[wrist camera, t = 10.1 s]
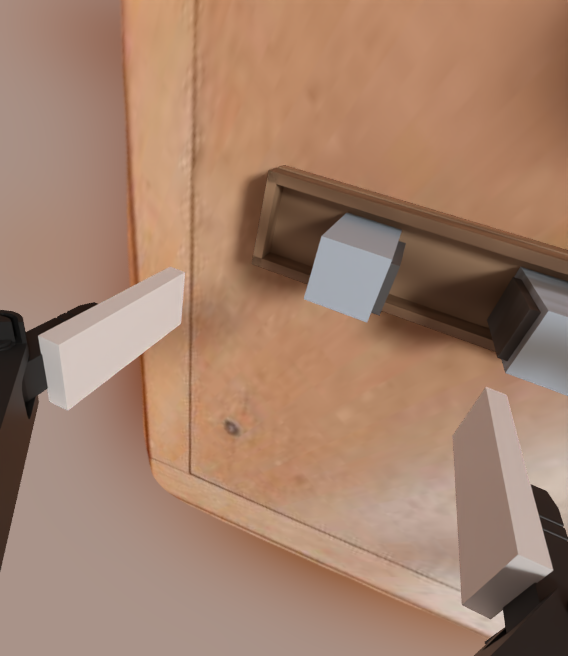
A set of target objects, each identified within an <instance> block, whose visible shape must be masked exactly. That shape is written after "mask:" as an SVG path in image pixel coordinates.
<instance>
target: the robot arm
mask: <svg viewBox="0 0 568 656" xmlns="http://www.w3.org/2000/svg"><path fill="white" fill-rule="evenodd" d="M184 280H185V272H183V271H180V270H178V269H175V268H173V267H169V268H167V269H165V270H163V271H161V272H159V273H157V274H155V275H153V276H151V277H149V278H147V279H146V280H144V281H142V282H140V283H138V284H136V285H134V286H132V287H130V288H128V289H126V290H124V291H123V292H121V293H119V294H117V295H115V296H113V297H111V298H109V299H107V300H105V301H103V302H102V303H100V304H97V303H95V302H94V303H89V304H84V305H80V306H78V307H76V308H74V309H72V310H70V311H68V312H67V313H64V314H62V315H60V316H58V317H57V318H54V319H52V320H50V321H48V322H46V323H44V324H41V325H40V326H37V327H36V328H33V329H31V330H29V331H27V332H25V327H24V322H23V318H22V316H21V315H20V314H18V313H15V312H13V311H5V310H0V570H1V566H2V561H3V557H4V553H5V548H6V544H7V539H8V535H9V531H10V526H11V522H12V517H13V513H14V509H15V504H16V500H17V495H18V491H19V487H20V482H21V478H22V474H23V469H24V464H25V460H26V456H27V452H28V447H29V443H30V438H31V434H32V430H33V424H34V421H35V416H36V412H37V408H38V403H39V401H38V394H40V393H41V392H43V391H44V390H46V389H47V391H48V397H49V402H51V403H53V404H55V405H57V406H59V407H61V408H63V409H65V410H69V409H70V408H72V407H73V406H74V405H75V404H77V403H78V402H79V401H81V400H82V399H83V398H85V397H86V396H87V395H89V394H90V393H91V392H93V391H94V390H95V389H96V388H98V387H99V386H100V385H102V384H103V383H104V382H106V381H107V380H108V379H110V378H111V377H112V376H113V375H115V374H116V373H117V372H118V371H120V370H121V369H123V367H125V366H126V365H128V364H129V363H130V362H132V361H133V360H134V359H136V358H137V357H138V356H139V355H141V354H142V353H143V352H145V351H146V350H147V349H149V348H150V347H151V346H153V345H154V344H155V343H156V342H158V341H159V340H160V339H162V338H163V337H164V336H166V335H167V334H168V333H169V332H171V331H172V330H173V329H175V328H176V327H177V326H179V325H180V324H181V317H182V305H183V292H184ZM453 451H454V469H455V488H456V506H457V524H458V543H459V561H460V579H461V598H462V605H463V606H465V607H467V608H469V609H471V610H473V611H475V612H477V613H479V614H481V615H483V616H485V617H487V618H489V619H492V618H493V617H494V616H496V615H497V614H498V613H499V612H501V611H502V610H503V613H504V620H505V628H503V629H502V630H500V631H499V632H498V633H496V634H495V635H494V636H492V637H491V638H490V639H488V640H487V641H485V644H486V645H485V646H484V647H483V648H482V649H481V650H480V651H478V652H477V653H476V654H475V655H474V656H568V537H567V534H566V530H565V528H563V526H564V524H563V521H562V518H561V515H560V512H559V509H558V507H557V506H556V504H555V503H554V501H553V500H552V498H551V497H550V495H549V494H548V492H547V491H545V490H543V489H541V488H538V487H536V486H533V485H531V484H530V481H529V477H528V473H527V469H526V466H525V462H524V458H523V454H522V450H521V447H520V443H519V439H518V435H517V432H516V428H515V424H514V420H513V417H512V413H511V409H510V405H509V401H508V398H507V395H506V394H503V393H501V392H498V391H495V390H493V389H490V388H488V387H486V388H485V389H484V390H483V392H482V393H481V395H480V396H479V398H478V399H477V401H476V402H475V404H474V405H473V406H472V408H471V409H470V411H469V412H468V414H467V415H466V417H465V418H464V420H463V421H462V422H461V424H460V425H459V427H458V428H457V430H456V431H455V433H454V434H453Z"/></svg>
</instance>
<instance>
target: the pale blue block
mask: <svg viewBox="0 0 568 656" xmlns="http://www.w3.org/2000/svg"><path fill="white" fill-rule="evenodd" d="M401 232H402V230H401V229H398V228H395V227H392V226H389V225H385V224H382V223H379V222H376V221H373V220H370V219H366V218H363V217H360V216H357V215H354V214H351V213H348V212H347V213H346V214H345V215H344V216H343V217H342V218H340V219H339V220H338V221H337V222H336V223H335V224H334V225H333V226H332V227H331V228H330V229H329V230H328V231H327V232H325V233H324V234H323V235H322V236H321V240H320V243H319V247H318V251H317V254H316V258H315V261H314V265H313V268H312V272H311V275H310V279H309V282H308V286H307V289H306V293H305V297H304V299H305V300H308V301H310V302H313V303H316V304H318V305H321V306H324V307H326V308H329V309H332V310H335V311H337V312H340V313H343V314H345V315H348V316H351V317H353V318H356V319H359V320H362V321H364V322H367V321H368V319H369V316H370V314H371V313H374V314H377V315H379V316H380V313H381V311H382V308H383V306H384V304H385V301H386V299H387V297H388V294H389V292H390V289H391V287H392V285H393V282H394V280H395V277H396V275H397V273H398V270H399V268H400V265H401V261H402V257H403V253H404V249H405V245H406V243H404V242H401V241H399V238H400V235H401Z"/></svg>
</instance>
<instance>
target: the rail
mask: <svg viewBox="0 0 568 656" xmlns="http://www.w3.org/2000/svg"><path fill="white" fill-rule="evenodd" d="M347 212H348V213H351V214H354V215H357V216H360V217H363V218H366V219H370V220H373V221H376V222H379V223H382V224H385V225H389V226H392V227H395V228H398V229H401V230H402V232H401V235H400V238H399V241H401V242H404V243H406V245H405V249H404V253H403V257H402V261H401V265H400V268H399V270H398V273H397V275H396V277H395V280H394V282H393V285H392V287H391V289H390V292H389V294H388V297H387V299H386V301H385V304H384V306H383V308H382V311H383V312H386V313H389V314H392V315H395V316H397V317H400V318H403V319H406V320H408V321H411V322H414V323H417V324H420V325H422V326H425V327H428V328H431V329H433V330H436V331H439V332H442V333H445V334H447V335H450V336H453V337H456V338H458V339H461V340H464V341H467V342H470V343H472V344H475V345H478V346H481V347H483V348H486V349H489V350H492V351H495V352H496V354H497V357H498V358H500V359H501V360H502V363H503V366H504V370H505V373H507V374H510V375H512V376H515V377H518V378H521V379H523V380H526V381H529V382H531V383H534V384H537V385H540V386H542V387H545V388H548V389H550V390H553V391H556V392H559V393H561V394H564V395H567V396H568V250H566V249H562V248H559V247H556V246H552V245H549V244H546V243H542V242H539V241H536V240H532V239H529V238H526V237H522V236H519V235H516V234H512V233H509V232H506V231H502V230H499V229H496V228H492V227H489V226H486V225H482V224H479V223H476V222H472V221H469V220H466V219H462V218H459V217H456V216H452V215H449V214H446V213H442V212H439V211H436V210H432V209H429V208H426V207H422V206H419V205H416V204H412V203H409V202H406V201H402V200H399V199H396V198H392V197H389V196H386V195H382V194H379V193H376V192H372V191H369V190H366V189H362V188H359V187H356V186H352V185H349V184H346V183H342V182H339V181H336V180H332V179H329V178H326V177H322V176H319V175H316V174H312V173H309V172H306V171H302V170H299V169H296V168H292V167H289V166H286V165H283V166H279V167H278V168H276V169H272V170H269V172H268V177H267V182H266V188H265V193H264V199H263V204H262V210H261V215H260V221H259V226H258V231H257V237H256V242H255V248H254V253H253V259H252V264H253V265H256V266H258V267H261V268H264V269H267V270H269V271H272V272H275V273H278V274H281V275H283V276H286V277H289V278H292V279H294V280H297V281H300V282H303V283H306V284H308V282H309V279H310V275H311V272H312V268H313V265H314V261H315V258H316V254H317V251H318V247H319V243H320V240H321V236H322V235H323V234H324V233H325V232H327V231H328V230H329V229H330V228H331V227H332V226H333V225H334V224H335V223H336V222H337V221H338V220H339V219H340V218H342V217H343V216H344V215H345V214H346V213H347Z"/></svg>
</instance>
